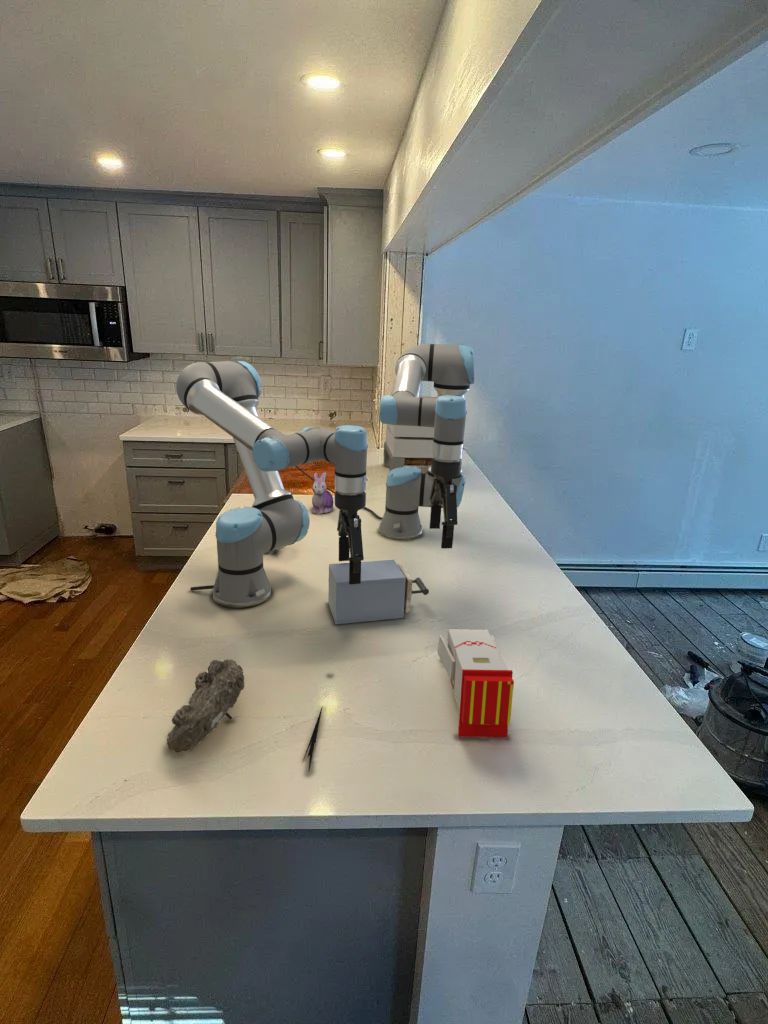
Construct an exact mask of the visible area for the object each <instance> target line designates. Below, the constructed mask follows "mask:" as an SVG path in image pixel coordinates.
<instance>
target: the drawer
mask: <svg viewBox="0 0 768 1024" xmlns="http://www.w3.org/2000/svg"><path fill="white" fill-rule="evenodd" d="M397 565H398V566H399V568H400V569H401V571H402V572H403V574H404V576H405V577H406V583H405V598H404V612H405V613H406V614H409V613H411V607H412V595H414V594H415V595H416V594H422V595H424V596H427V595H428V594H429V593H430V589H428V587H427V585H426V584H425V583H424V581H423V580H422V578H421V577H416V578H415V579H413V578H412V576H411V575H410V574H409V571H408V570H407V569H406V568H405V566H404V565H403V563H400V562H399V563H397ZM413 584H415V585H416V586H417V587H418V589H417V590H413Z"/></svg>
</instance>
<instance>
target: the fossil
mask: <svg viewBox="0 0 768 1024" xmlns="http://www.w3.org/2000/svg"><path fill="white" fill-rule="evenodd" d="M243 670H244V669H243V667H242V665H240V664H237V662H236V661H235V660H234V659H232V658H231V659H227V658H226V659H224V660H223V661H222V660H217V659H212V660H211V661H210V663H209V665H208V666H207V671H201V672H199V673H198V674H197V675H196V676H195V680H194V684H195V685H194V687H195V689H194V690H193V693H192V694H191V697H190V698H189V700H188V704H184V705H182V706H181V707H180V709H177V710H176V711H175V713H174V715H173V716H172V718H171V723H172V724H173V727H172V730H171V731H170V732H168V734H167V738H166V741H167V742H166V745H167V749H168V750H169V751H173V752H174V753H176V754H178V753H182V752H188V751H189V752H192V751H193V750H195V748H196V747H197V746H199V744H200V743H201V742H203V741H204V740H205V739H206V738H207V737H208V736H209V735H210V734H211V733H212V732H214V730H215V729H217V727H218V726H219V724H220V722H221V721H222V720H223V719H224V718H225V716H226V717H227V719H229V720H233V717H232V715H230V714H229V710H230V709H231V708H234V706H235V704H236V703H237V702H238V699H239V697H240V695H241V693H242V691H243V690H245V689H244V688H245V675H244V671H243Z"/></svg>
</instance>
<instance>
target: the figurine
mask: <svg viewBox="0 0 768 1024" xmlns="http://www.w3.org/2000/svg"><path fill="white" fill-rule="evenodd" d="M326 478H327V472H326V471H324V472H322V473H321V475H320V476H319V473H317V472H315V473H314V474H313V479H314V480H315V481H313V484H312V488H311V491H312V492H313V494H312V497H311V505H312V508H311V510H312V513H313V514H318V515H322V514H328V513H330V512H332V511H333V509H334V497H333V495H332V492H331V491H329V490H327V488H328V487H327V484H326Z"/></svg>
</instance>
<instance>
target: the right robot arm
mask: <svg viewBox="0 0 768 1024" xmlns="http://www.w3.org/2000/svg"><path fill="white" fill-rule="evenodd" d="M474 352H475V351H474V349H473V347H471V346H469V345H463V344H443V343H442V344H441V343H439V344H438V343H419V344H417V345H415V346H412V347H410V348H409V349H407V350H405V351H404V352H402V354H401V355H400V356H399V357H398V358H397V360H396V363H395V365H394V366H395V367H394V374H395V379H394V383H393V386H392V390H391V394H389V395H382V396H381V397H380V402H379V413H378V414H379V421H380V423H381V424H383V425H387V424H391V425H404V426H421V427H434V439H433V447H432V457H433V459H432V463H431V465H430V466H427V472H422V469H421V468H420V467H419V466H418V467H417V466H404V467H399V468H395V469H393V470H391V471H390V470H389V471H388V473H387V475H386V482H385V487H386V488H385V489H386V490H385V504H384V505H385V507H384V508H385V509H384V513H383V515H382V517H381V516H379V515H378V514H376V513H375V511H373V510H372V509H370V508H368V507H366V506H365V507H364V508H363V509H364V510H367V511H368V512H370V513H371V514H372V515H373V516H374V517H375V518H377V519H379V520H381V522H379V526H378V533H379V534H380V535H381V536H382V537H385V538H387V539H389V540H395V541H410V540H415V539H418V538H420V537H421V536H422V535H423V525H422V524H421V518H420V515H419V508H420V507H421V508H422V507H423V508H430V516H429V517H430V518H429V529H430V530H439V529H441V526H442V530H441V542H440V549H453V543H454V532H455V526H457V525H458V523H459V522H458V508H459V507H460V505H461V502H462V500H463V496H464V493H465V492H464V491H465V484H466V476H465V475H463V474H462V472H463V470H462V465H463V462H461V460H460V459H463V451H465V449H466V447H465V446H464V441H465V440H464V437H465V430H466V419H467V414H468V406H467V405H468V400H467V399H466V398H465V395H466V393H468V391H470V388H471V385H473V384H475V382H476V369H475V368H476V367H475V365H476V364H475V353H474ZM422 382H432V383H433V389H434V390H435V391H436V393H437V396H436V397H437V398H421V397H422V396H419V395H420V389H421V383H422ZM294 467H295V468H296V469H298V470H299V471H300V472H301V473H302V474H304V475H305V476H306V477H307V478H309V479H310V480H312V481H313V482H315V479H314V477H311V476H310V475H309V474H307V472H305V471H304V470H302V469H301V468H300V467H298V466H294ZM327 491H329V492H330V493H333V494H335V492H336V491H334V490H333V489H331V488H329V487H327ZM442 512H443V520H444V521H442V522H441V518H442Z"/></svg>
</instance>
